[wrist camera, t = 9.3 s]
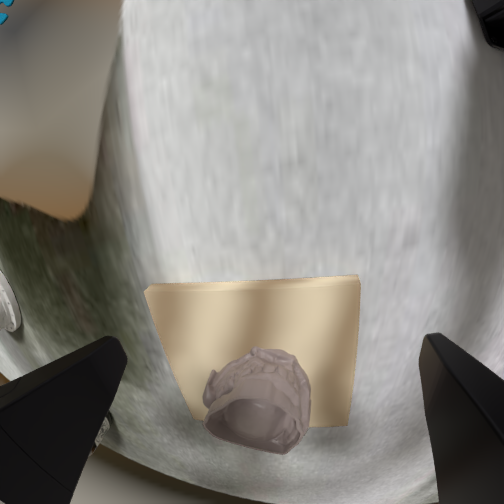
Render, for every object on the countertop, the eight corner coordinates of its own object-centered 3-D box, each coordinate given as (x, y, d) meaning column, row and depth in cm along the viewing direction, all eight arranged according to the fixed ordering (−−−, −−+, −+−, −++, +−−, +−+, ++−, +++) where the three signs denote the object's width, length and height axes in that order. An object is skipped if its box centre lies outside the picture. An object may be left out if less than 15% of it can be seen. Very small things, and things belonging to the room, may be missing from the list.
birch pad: (357, 274, 17) (360, 283, 16) (346, 415, 22) (347, 425, 21) (151, 283, 20) (143, 291, 19) (197, 410, 25) (193, 419, 24)
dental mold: (341, 365, 18) (344, 422, 14) (296, 416, 21) (290, 466, 16) (233, 323, 18) (210, 376, 14) (205, 383, 21) (184, 430, 17)
